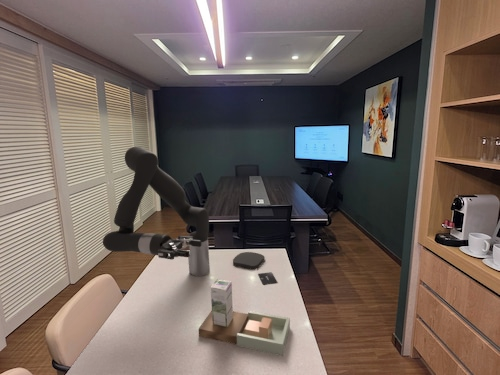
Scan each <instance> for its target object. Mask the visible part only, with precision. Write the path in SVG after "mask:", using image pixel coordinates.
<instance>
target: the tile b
mask: <svg viewBox="0 0 500 375" xmlns="http://www.w3.org/2000/svg"><path fill="white" fill-rule="evenodd" d="M271 333H272V319H269V318H264V317H263V319H262V321H261V323H260V326H259V337H260V338H265V339H269V338H270V335H271Z"/></svg>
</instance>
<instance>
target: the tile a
mask: <svg viewBox="0 0 500 375" xmlns="http://www.w3.org/2000/svg"><path fill="white" fill-rule="evenodd" d="M260 323H261V322H258V321H253V320H249V322H248V323H247V325H246V327H245V335H250V336H255V337H259V326H260Z"/></svg>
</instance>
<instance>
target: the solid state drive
mask: <svg viewBox="0 0 500 375" xmlns="http://www.w3.org/2000/svg"><path fill="white" fill-rule="evenodd" d="M257 276H258V277H259V280H260V282H261V284H262V285H263V286H266V285H272V284H273V285H274V284H278V281H277V279H276V277H275V275H274V273H273V272H269V271H268V272H262V273H258V274H257Z"/></svg>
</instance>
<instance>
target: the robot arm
mask: <svg viewBox="0 0 500 375" xmlns="http://www.w3.org/2000/svg"><path fill="white" fill-rule="evenodd" d="M124 161H125V165H126V166H127V167H128V169H130V170H131V171H133V172H134V174H133V175H134V176H133V180H132V183H131V185H130V187H129V189H128V190H127V191H126V193H125V194H124V195H123V196H122V197H121V199H120V201H119V203H118V205H117V208H116V211H115V214H114V218H113V223H114V225H116V226H117V227H119V229H118V230H115V231H110V232H107V233H106V234H105V235H104V237H103V238H102V245H103V247H104V248H105V249H106V250H107V251H110V252H113V253H114V252H118V253H119V252H121V253H122V252H133V253H134V252H135V253H142V254H146V255H153V256H157V257H158V258H159V259H164V260H165V259H166V260H174V259H175V258H179V257H181V258H187V259H188V271H189V272H188V274H190V275H192V276H194V277H204V276H206V275H208V274H210V272H211V271H210V269H211V268H210V254H209V253H210V252H209V249H210V248H209V232H210V215H209V211H208V209H206V208H205V207H197V206H193V205H191V204H190V203H188V202H187V200H186V195H187V194H186V191H185V190H184V188H183V187H182V186H181V185H180V183H178V181H176V180H175V178H173V177H172V176H170V175H169V174H168V173H166V172H165V171H164V170H163V169H162V168H160V167H159V166H158V165H159V159H158V156H157V155H156V153H154V152H152V151H150V150H148V149H146V148H144V147H141V146H133V147H130V148H128V149H127V150H126V152H125V154H124ZM149 187H151V188H152V190H153V191H154V192H155V193H156V194H157V195H158V197H160V198H161V199H162V200H163V201H164V202H165V203H166V204H168V206H169V207H171V208H172V210H174V211H175V212H176V213H177V215H178V216H179V217H180V218H181V220H182V221H183V222H184V223H185V224H186V225H188V226H191V227H195V228H196V229H195V231H193V232H190V233H189V235H178V236H177V238H171V236H170V235H169V234H164V233H163V234H161V233H154V232H153V233H152V232H149V233H146V232H145V233H144V232H134V230H135V228H134V227H135V224H134V223H135V220H136V217H137V215H138V210H139V208H140V205H141V203H142V199H143V198H144V195H145V193H146V192H147V189H148V188H149ZM187 247H189V250H188V249H186V248H187Z"/></svg>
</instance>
